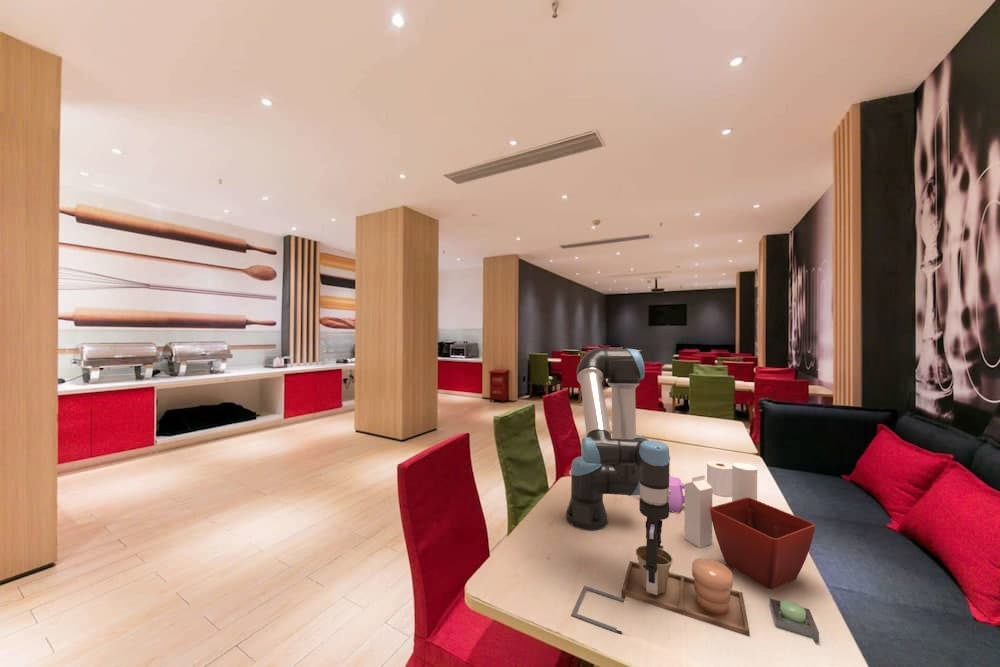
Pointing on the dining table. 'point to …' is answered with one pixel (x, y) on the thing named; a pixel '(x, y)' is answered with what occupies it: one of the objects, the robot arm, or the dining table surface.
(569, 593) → the dining table surface
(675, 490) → the teakettle
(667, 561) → the flower pot
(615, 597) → the square
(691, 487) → the milk
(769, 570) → the plant pot
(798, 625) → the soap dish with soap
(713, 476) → the toilet paper
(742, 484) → the cylindrical container
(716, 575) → the stacked pebble cairn
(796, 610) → the green soap bar
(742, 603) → the brown divided tray
